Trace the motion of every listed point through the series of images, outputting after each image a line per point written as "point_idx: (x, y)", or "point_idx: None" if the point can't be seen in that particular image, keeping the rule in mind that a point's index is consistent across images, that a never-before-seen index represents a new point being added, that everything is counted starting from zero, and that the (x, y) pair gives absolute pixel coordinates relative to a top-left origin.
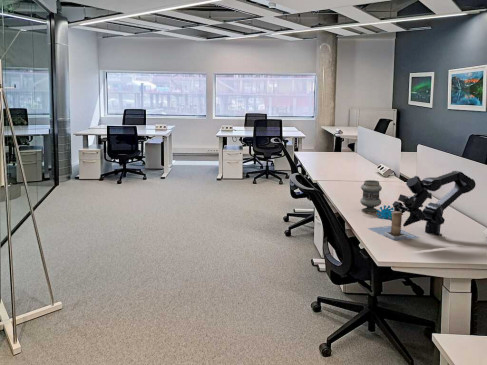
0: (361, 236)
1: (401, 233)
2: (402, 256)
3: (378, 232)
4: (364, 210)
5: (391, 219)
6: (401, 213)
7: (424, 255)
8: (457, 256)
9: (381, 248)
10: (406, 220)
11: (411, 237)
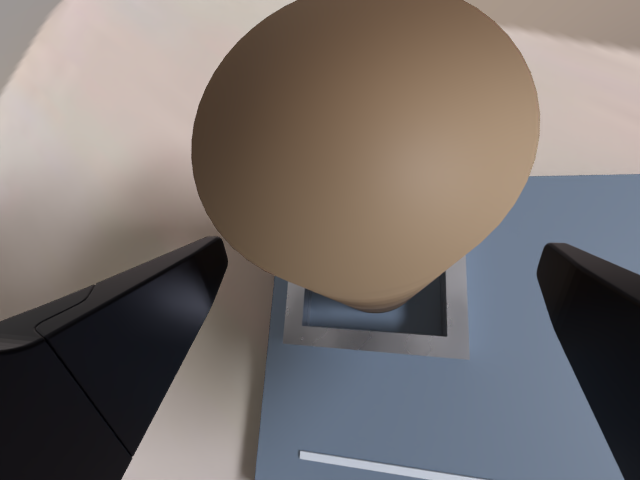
0: (530, 34)
1: (360, 332)
2: (74, 84)
3: (567, 194)
4: None
5: (565, 246)
6: (199, 191)
7: (18, 212)
8: None
9: (225, 43)
10: (145, 273)
11: (296, 409)
